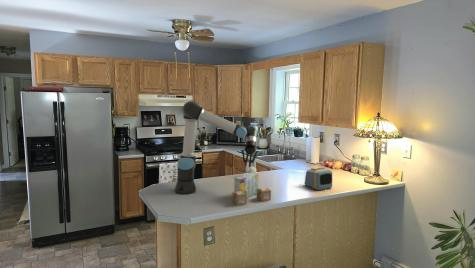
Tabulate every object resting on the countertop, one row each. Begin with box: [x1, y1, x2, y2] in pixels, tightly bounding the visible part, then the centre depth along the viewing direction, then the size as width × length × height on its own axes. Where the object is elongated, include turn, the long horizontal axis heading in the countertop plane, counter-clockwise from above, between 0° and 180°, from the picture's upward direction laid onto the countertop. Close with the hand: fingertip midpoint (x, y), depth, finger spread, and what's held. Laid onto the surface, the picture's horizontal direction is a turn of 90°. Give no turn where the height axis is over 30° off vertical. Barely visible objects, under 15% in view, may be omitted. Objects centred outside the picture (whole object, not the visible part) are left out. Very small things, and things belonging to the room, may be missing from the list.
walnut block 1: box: [231, 191, 248, 206], centre depth 201 cm, size 7×7×7 cm
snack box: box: [233, 172, 259, 198], centre depth 215 cm, size 21×6×15 cm, turn 141°
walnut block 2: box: [256, 187, 272, 202], centre depth 210 cm, size 7×7×7 cm
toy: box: [241, 161, 257, 176], centre depth 260 cm, size 10×17×15 cm, turn 139°
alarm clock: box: [304, 166, 333, 191], centre depth 242 cm, size 16×16×16 cm
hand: (247, 170), depth 214 cm, fingers closed
